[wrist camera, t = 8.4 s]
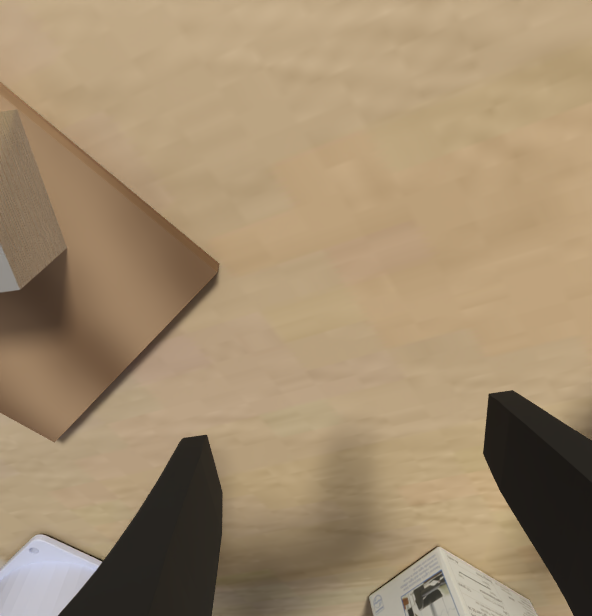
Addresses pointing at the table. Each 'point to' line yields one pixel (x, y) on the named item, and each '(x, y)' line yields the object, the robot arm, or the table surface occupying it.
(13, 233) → the grey square sleeve
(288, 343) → the table surface
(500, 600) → the light bulb box
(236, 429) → the table surface
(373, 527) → the table surface
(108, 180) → the copper plate
